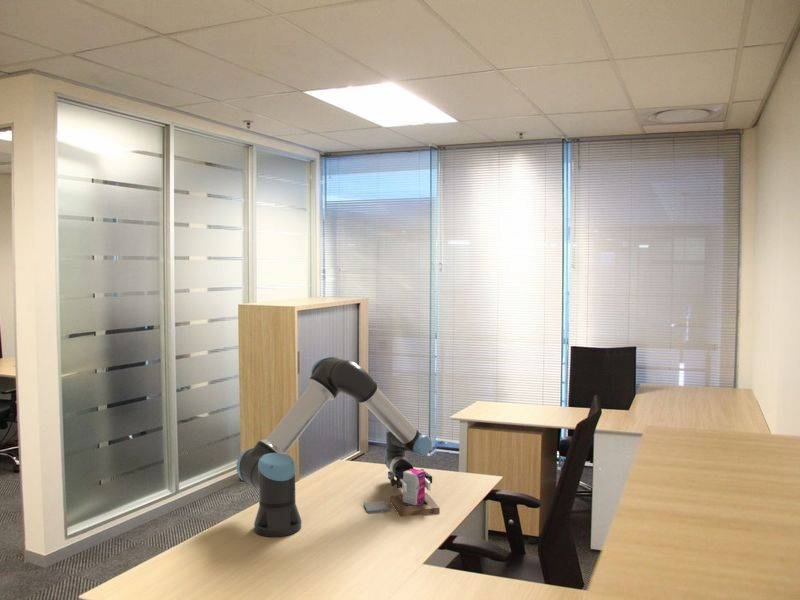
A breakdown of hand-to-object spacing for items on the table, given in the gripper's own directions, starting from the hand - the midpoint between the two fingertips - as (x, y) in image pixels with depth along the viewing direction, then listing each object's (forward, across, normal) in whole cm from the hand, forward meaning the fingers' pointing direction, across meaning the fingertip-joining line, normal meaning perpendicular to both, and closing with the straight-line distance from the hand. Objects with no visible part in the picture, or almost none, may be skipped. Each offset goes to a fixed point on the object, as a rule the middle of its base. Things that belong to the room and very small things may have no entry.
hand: (417, 487), depth 241 cm
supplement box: (-5, 0, -7) cm, 9 cm away
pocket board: (-5, 0, -8) cm, 10 cm away
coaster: (-7, +13, -8) cm, 17 cm away
